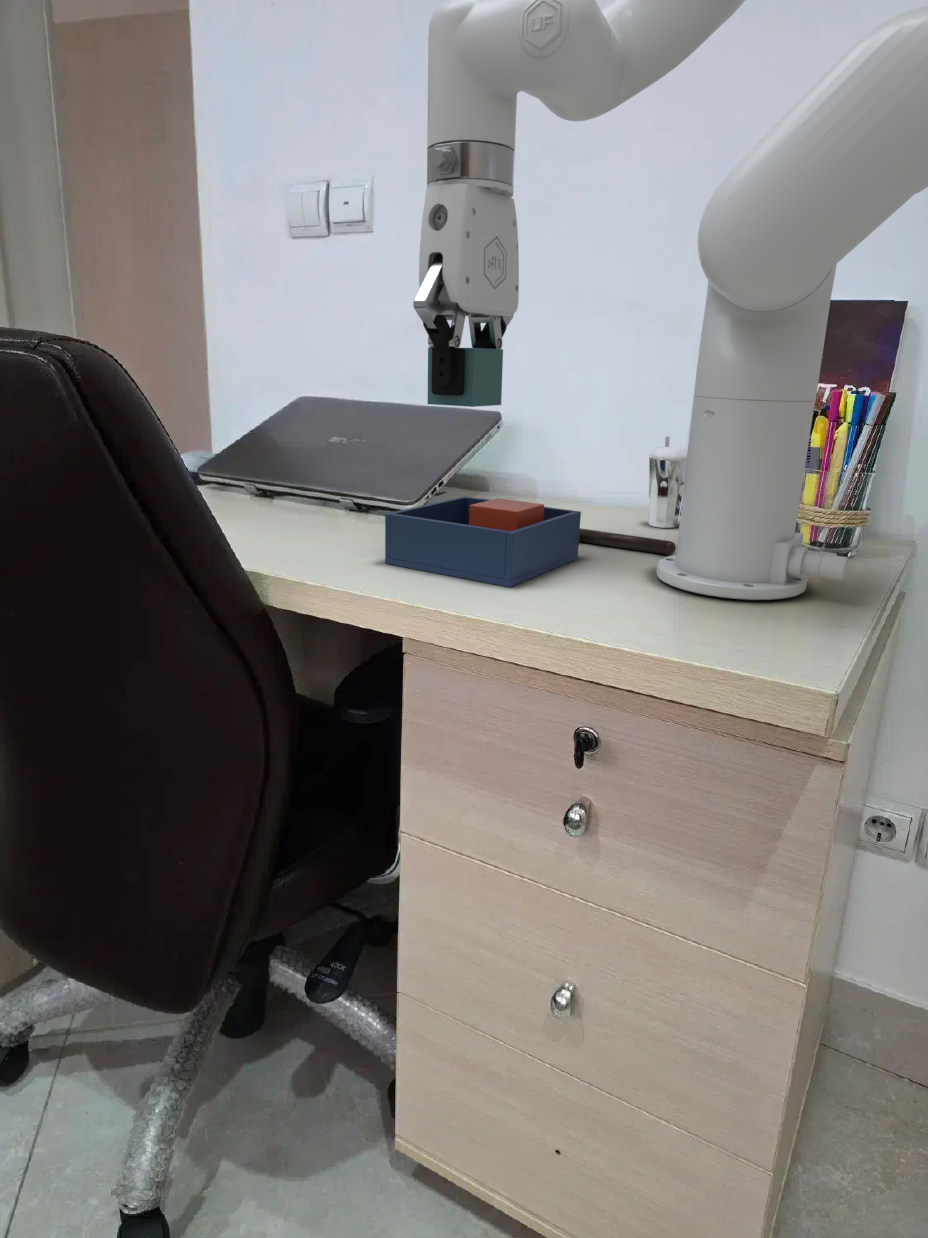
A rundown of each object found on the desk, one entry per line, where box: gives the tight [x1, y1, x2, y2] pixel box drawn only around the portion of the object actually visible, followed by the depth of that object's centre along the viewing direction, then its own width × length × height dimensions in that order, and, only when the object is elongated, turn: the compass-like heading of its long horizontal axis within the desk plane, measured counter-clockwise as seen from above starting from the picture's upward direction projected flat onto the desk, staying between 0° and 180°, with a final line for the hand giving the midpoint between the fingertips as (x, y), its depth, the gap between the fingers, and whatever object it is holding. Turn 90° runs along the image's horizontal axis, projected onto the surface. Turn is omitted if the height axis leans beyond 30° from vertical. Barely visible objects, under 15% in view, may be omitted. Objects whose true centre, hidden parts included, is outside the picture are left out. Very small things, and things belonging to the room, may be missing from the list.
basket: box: [384, 495, 582, 588], centre depth 77 cm, size 13×13×5 cm
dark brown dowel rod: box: [579, 527, 677, 556], centre depth 89 cm, size 28×4×1 cm, turn 57°
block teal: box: [427, 346, 504, 408], centre depth 76 cm, size 5×5×5 cm
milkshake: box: [648, 436, 688, 529], centre depth 96 cm, size 5×5×10 cm
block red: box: [469, 497, 545, 531], centre depth 76 cm, size 5×5×5 cm
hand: (465, 392), depth 77 cm, fingers closed on block teal, 5 cm apart
